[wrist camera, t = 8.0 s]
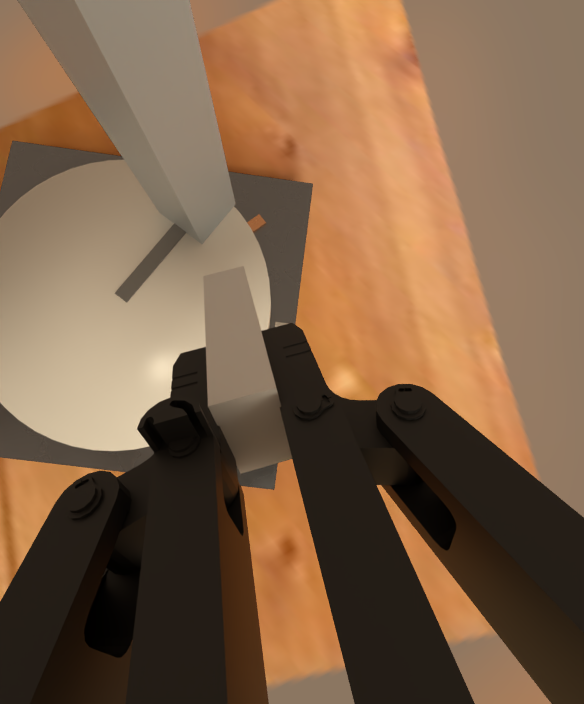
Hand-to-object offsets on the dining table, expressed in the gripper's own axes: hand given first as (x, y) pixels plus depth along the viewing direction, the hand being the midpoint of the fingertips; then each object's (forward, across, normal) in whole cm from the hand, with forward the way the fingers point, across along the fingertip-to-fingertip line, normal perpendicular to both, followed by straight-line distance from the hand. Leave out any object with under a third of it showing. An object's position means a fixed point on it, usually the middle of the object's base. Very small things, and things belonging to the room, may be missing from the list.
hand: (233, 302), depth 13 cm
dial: (+7, -6, -3) cm, 10 cm away
